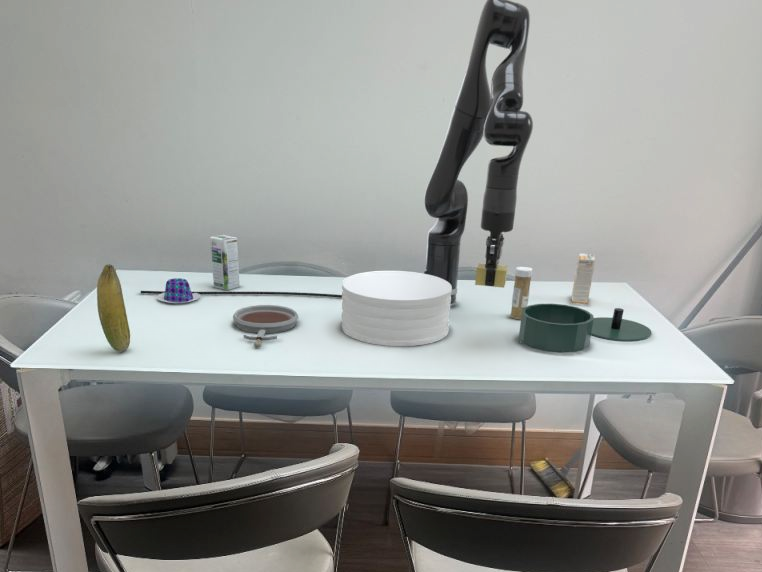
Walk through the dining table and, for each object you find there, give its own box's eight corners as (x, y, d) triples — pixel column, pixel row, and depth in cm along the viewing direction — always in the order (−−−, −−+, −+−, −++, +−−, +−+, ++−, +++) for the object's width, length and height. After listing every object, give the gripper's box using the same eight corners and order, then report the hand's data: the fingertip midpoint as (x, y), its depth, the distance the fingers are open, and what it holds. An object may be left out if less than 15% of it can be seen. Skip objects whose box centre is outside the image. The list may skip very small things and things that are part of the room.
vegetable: (124, 357, 176) (111, 269, 165) (99, 355, 177) (84, 267, 166) (136, 348, 181) (124, 262, 170) (111, 346, 182) (98, 260, 171)
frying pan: (220, 338, 182) (237, 302, 206) (221, 350, 184) (238, 313, 207) (292, 340, 183) (300, 304, 206) (292, 352, 184) (301, 314, 208)
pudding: (206, 295, 221) (205, 276, 218) (190, 306, 211) (188, 287, 208) (167, 291, 222) (165, 273, 220) (149, 303, 212) (147, 284, 209)
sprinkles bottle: (527, 320, 210) (534, 270, 203) (511, 319, 210) (517, 270, 203) (524, 315, 214) (530, 266, 207) (508, 314, 214) (514, 265, 207)
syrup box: (212, 287, 228) (208, 236, 220) (227, 283, 232) (223, 233, 224) (226, 290, 225) (223, 239, 218) (240, 286, 229) (237, 236, 222)
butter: (474, 284, 183) (476, 267, 181) (477, 280, 187) (478, 263, 185) (504, 287, 182) (506, 270, 180) (505, 282, 186) (507, 266, 184)
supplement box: (587, 305, 224) (595, 260, 217) (571, 304, 225) (578, 258, 218) (587, 298, 231) (594, 253, 224) (571, 296, 232) (578, 252, 225)
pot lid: (579, 339, 198) (583, 316, 194) (578, 318, 213) (582, 296, 210) (653, 346, 195) (659, 323, 192) (647, 324, 210) (652, 302, 207)
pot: (516, 350, 189) (520, 320, 185) (520, 328, 204) (524, 300, 200) (589, 357, 186) (594, 327, 182) (587, 335, 201) (592, 307, 197)
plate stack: (324, 335, 193) (323, 290, 187) (366, 307, 216) (367, 265, 210) (428, 352, 185) (431, 306, 179) (461, 321, 207) (465, 278, 201)
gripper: (485, 201, 182) (478, 274, 191) (479, 212, 170) (471, 289, 179) (517, 204, 181) (508, 276, 190) (513, 215, 169) (503, 292, 178)
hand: (490, 282), depth 184 cm, fingers closed on butter, 4 cm apart
